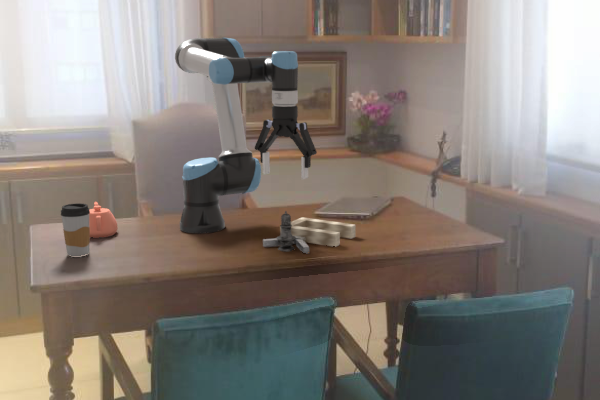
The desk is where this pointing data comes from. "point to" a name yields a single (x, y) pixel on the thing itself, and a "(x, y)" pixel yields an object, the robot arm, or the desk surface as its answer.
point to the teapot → (101, 222)
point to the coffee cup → (76, 228)
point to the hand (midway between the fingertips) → (285, 176)
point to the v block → (299, 243)
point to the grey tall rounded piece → (286, 234)
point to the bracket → (322, 231)
